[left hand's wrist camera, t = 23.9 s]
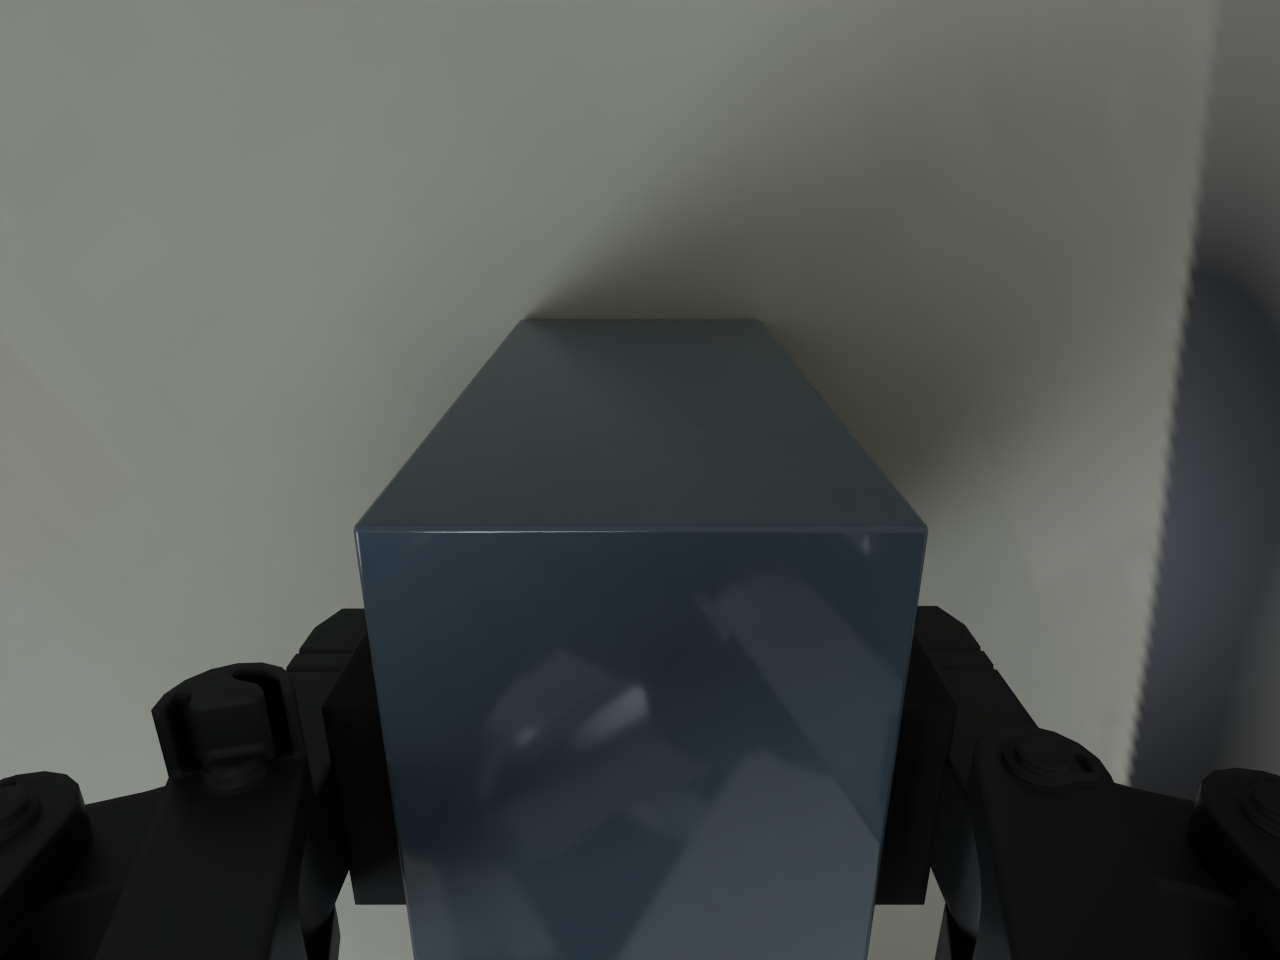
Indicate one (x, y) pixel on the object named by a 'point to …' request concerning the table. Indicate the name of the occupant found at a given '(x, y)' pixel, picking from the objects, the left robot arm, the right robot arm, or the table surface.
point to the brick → (640, 653)
